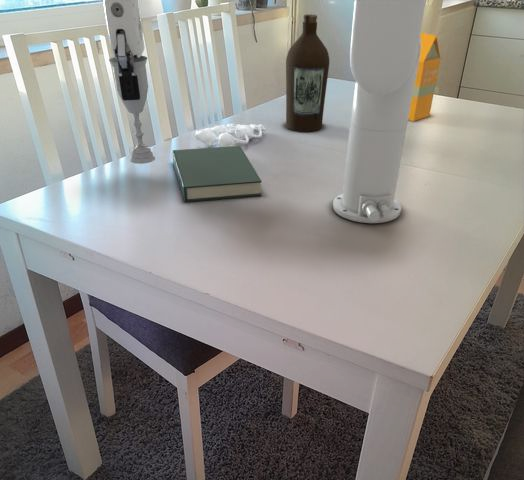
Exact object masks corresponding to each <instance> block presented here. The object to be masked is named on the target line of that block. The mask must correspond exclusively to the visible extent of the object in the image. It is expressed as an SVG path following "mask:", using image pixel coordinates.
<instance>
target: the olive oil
mask: <svg viewBox="0 0 524 480" xmlns="http://www.w3.org/2000/svg"><path fill="white" fill-rule="evenodd" d="M317 20H318V15H317V14H311V13H310V14H303V21H302V31H301V35H300V36H299V37H298V38H297V39H296V40H295V42H294V43H293V44H292V45H291V46H290V47H289V48H288V52H287V54H286V58H285V92H286V93H285V102H286V103H285V126H286V128H287V129H289V130H292V131H295V132H303V133H305V132H316V131H319V130H320V129H322V127H323V119H324V109H325V102H326V101H325V100H326V93H327V84H328V77H329V71H330V70H329V69H330V56H329V55H330V54H329V51H328V48H327V47H326V46H325V44H324V42H323V41H322V40H321V38H320V37H319V36H318V34H317V29H318V22H317Z"/></svg>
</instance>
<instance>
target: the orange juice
mask: <svg viewBox="0 0 524 480" xmlns="http://www.w3.org/2000/svg"><path fill="white" fill-rule="evenodd" d="M420 37H421V52H420V58H419V64H418V69H417V74H416V79H415V84H414V89H413V95H412V100H411V106H410V112H409V118H408V121H411V122H415V121H419V120H422V119H425V118H428V117H430V114H431V109H432V105H433V100H434V99H433V98H434V94H435V89H436V85H437V79H438V73H439V69H440V63H441V56H440V48H439V43H438V37H437V35H436V34H431V33H423V32H421V33H420Z"/></svg>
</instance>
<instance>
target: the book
mask: <svg viewBox="0 0 524 480" xmlns="http://www.w3.org/2000/svg"><path fill="white" fill-rule="evenodd" d="M171 152H172V160H173V161H172V163H173V167H174V170H175V175H176V177H177V181H178V183H179V188H180V190H181V195H182V197H183V200H184V203H192V202H193V203H194V202H203V201H205V202H206V201H215V200H228V199H240V198H253V197H262V193H261V183H262V179H261V177H260V176H259V174H258V173H257V171H256V169H255V167H254V166H253V165H252V163H251V161H250V160H249V158H248V156H247V155H246V153H245V151H244V150H243V148H242V147H241V145H233V146H231V147H220V146H217V147H201V148H188V149H187V148H186V149H172V151H171Z"/></svg>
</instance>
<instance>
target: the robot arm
mask: <svg viewBox="0 0 524 480" xmlns="http://www.w3.org/2000/svg"><path fill="white" fill-rule="evenodd" d="M102 1H103V8H104V13H105V21H106V28H107V34H108V39H109V46H110V49H111V54H112V56H113V57H115V58H117V61H118V70H119V81H120V88H121V94H122V99H123V100H139V99H140V92H139V84H138V77H137V75H135V65H134V56H135V59H136V58H140V57H141V56H143V54H144V51H145V42H144V35H143V29H142V22H141V15H140V9H139V8H140V7H139V3H138V0H102ZM426 1H427V0H354V2H353V13H352V23H351V35H350V36H351V37H350V48H349V67H350V71H351V75H352V77H353V79H354V81H355V84H354V91H353V97H352V105H351V113H350V114H351V115H350V122H349V130H348V141H347V147H346V149H347V150H346V159H345V168H344V176H343V185H342V186H343V187H342V193H340V194H338V195H336V196H335V197H334V199H333V201H332V208H333V211H334V213H336V214H337V215H338V216H339V217H342V218H343V219H346V220H349V221H352V222H357V223H361V224H382V223H387V222H391V221H393V220H395V219H397V218H398V217H399V216H400V215H401V212H402V204H401V203H400V202H399V200H398V199H396V198H395V195H396V191H397V185H398V180H399V179H398V178H399V175H400V167H401V162H402V155H403V151H404V144H405V138H406V132H407V127H408V123H409V120H408V118H409V112H410V106H411V100H412V95H413V89H414V84H415V79H416V74H417V69H418V64H419V58H420V52H421V37H420V33H422V32H421V31H422V25H423V19H424V14H425V8H426V7H425V6H426ZM127 55H131V56H127ZM129 61H130V62H131V63H130V62H129Z"/></svg>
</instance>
